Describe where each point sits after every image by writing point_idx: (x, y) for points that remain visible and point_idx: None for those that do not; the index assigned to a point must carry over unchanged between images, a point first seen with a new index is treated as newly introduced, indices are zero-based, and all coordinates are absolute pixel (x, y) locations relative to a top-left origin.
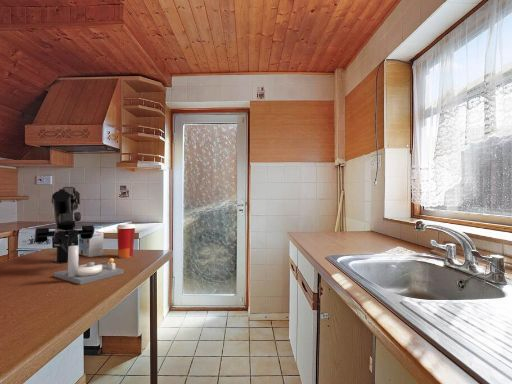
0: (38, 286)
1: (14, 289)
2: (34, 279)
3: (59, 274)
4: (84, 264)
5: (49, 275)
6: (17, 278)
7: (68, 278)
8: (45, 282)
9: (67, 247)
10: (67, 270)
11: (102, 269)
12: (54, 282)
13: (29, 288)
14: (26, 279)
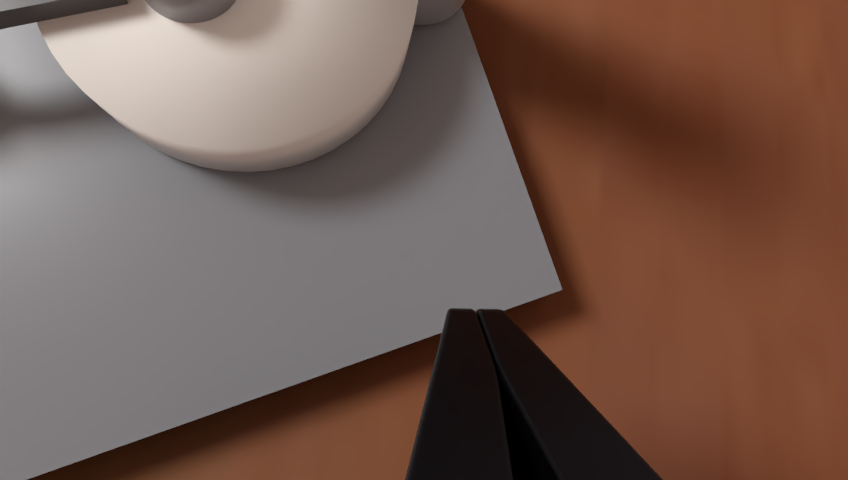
0: (682, 23)
1: (834, 59)
2: (706, 299)
3: (519, 174)
4: (232, 132)
5: (576, 383)
6: (838, 446)
7: None
8: (627, 117)
9: (506, 367)
10: (419, 295)
11: (33, 67)
12: (561, 63)
13: (741, 11)
14: (767, 347)
